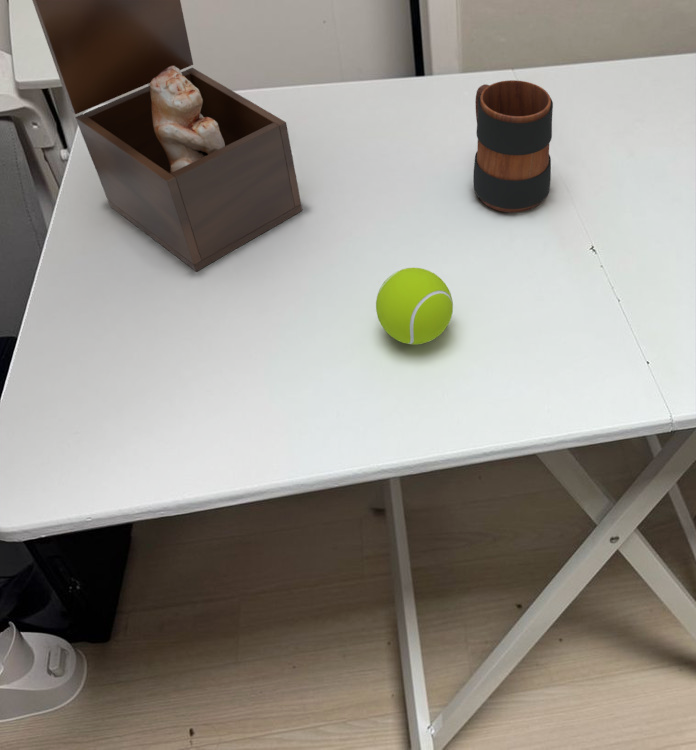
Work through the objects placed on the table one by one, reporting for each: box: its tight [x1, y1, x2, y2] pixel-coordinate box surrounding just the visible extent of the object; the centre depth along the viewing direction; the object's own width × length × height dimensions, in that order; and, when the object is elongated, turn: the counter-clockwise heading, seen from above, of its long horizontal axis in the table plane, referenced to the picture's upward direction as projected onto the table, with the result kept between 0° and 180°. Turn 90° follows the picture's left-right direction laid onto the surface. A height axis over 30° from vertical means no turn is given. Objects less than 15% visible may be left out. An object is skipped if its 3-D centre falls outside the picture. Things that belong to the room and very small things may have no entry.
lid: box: [32, 0, 194, 115], centre depth 80 cm, size 17×14×5 cm
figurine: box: [149, 66, 225, 173], centre depth 84 cm, size 6×8×15 cm
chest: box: [75, 67, 303, 272], centre depth 87 cm, size 16×14×11 cm
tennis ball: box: [375, 267, 454, 345], centre depth 76 cm, size 7×7×7 cm
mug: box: [472, 79, 554, 214], centre depth 91 cm, size 9×12×12 cm
